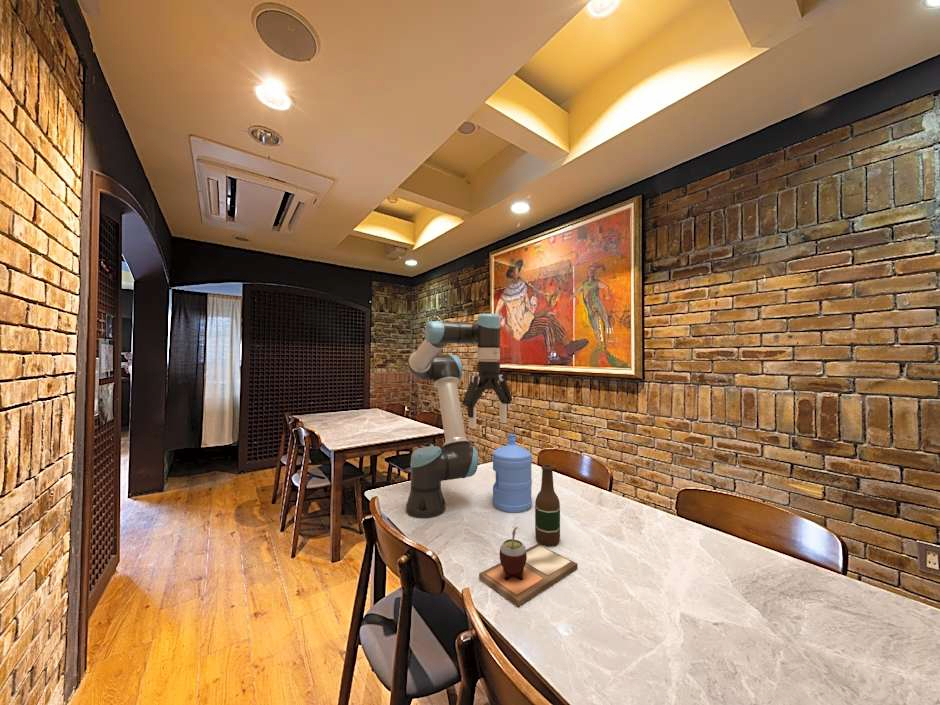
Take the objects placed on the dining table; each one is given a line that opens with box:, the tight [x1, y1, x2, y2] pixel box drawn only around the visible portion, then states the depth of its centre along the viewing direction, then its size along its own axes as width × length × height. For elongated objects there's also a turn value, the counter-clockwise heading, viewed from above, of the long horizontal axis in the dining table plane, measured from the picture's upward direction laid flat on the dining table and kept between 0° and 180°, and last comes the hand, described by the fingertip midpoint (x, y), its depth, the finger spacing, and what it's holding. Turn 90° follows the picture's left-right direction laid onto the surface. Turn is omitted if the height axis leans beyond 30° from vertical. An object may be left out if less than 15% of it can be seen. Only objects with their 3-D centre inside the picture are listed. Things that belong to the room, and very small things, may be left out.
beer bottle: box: [534, 464, 561, 548], centre depth 115 cm, size 8×8×24 cm
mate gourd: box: [499, 526, 527, 581], centre depth 94 cm, size 8×8×15 cm
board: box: [478, 543, 578, 608], centre depth 97 cm, size 14×24×2 cm, turn 130°
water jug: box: [491, 433, 533, 513], centre depth 144 cm, size 16×16×28 cm
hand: (488, 425), depth 119 cm, fingers open, 13 cm apart
